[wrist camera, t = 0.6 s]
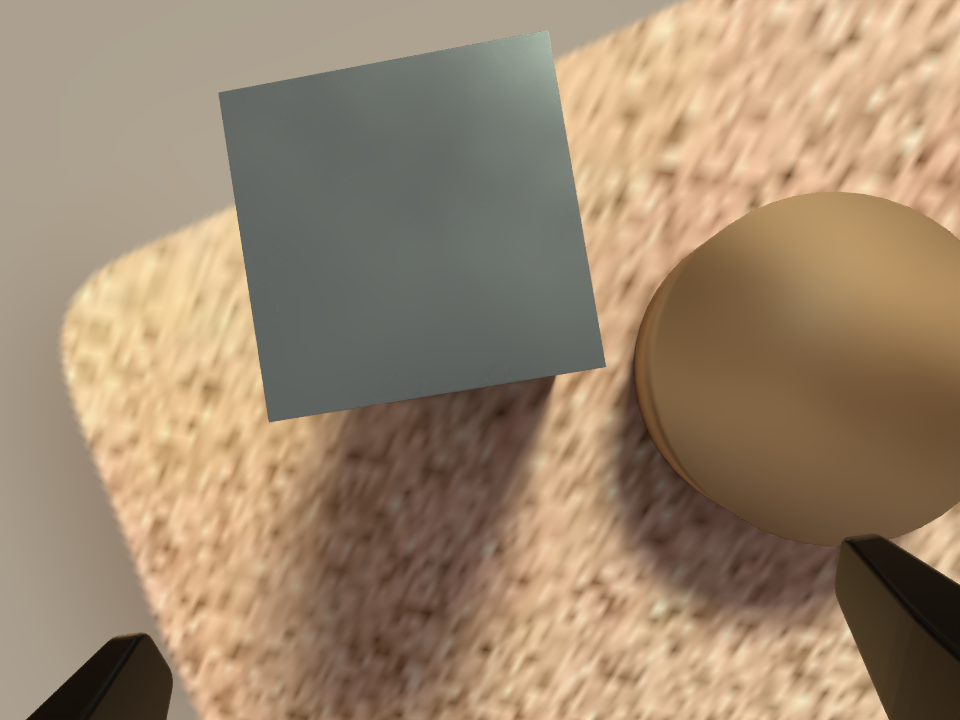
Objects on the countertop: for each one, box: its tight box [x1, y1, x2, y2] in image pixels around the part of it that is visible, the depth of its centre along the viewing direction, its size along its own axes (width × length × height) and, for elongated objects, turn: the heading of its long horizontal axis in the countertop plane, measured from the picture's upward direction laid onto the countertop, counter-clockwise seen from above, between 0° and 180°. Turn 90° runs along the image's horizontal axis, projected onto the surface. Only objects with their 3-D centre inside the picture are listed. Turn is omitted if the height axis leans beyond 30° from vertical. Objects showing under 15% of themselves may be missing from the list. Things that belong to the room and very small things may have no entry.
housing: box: [219, 30, 606, 422], centre depth 17 cm, size 5×5×13 cm
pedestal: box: [634, 192, 960, 546], centre depth 21 cm, size 10×10×4 cm
